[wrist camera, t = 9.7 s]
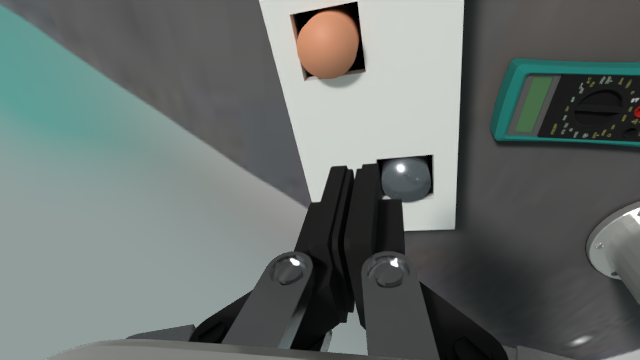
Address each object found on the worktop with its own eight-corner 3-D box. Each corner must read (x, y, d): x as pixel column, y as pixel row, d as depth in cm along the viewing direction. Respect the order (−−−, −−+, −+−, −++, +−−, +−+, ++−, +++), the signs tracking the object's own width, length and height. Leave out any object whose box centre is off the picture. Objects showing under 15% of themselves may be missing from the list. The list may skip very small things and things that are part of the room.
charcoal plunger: (424, 132, 33) (430, 161, 29) (425, 169, 36) (431, 201, 31) (379, 136, 34) (379, 165, 30) (383, 172, 37) (383, 203, 32)
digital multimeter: (649, 137, 32) (671, 153, 29) (485, 130, 34) (493, 144, 31) (698, 58, 28) (727, 69, 25) (507, 55, 30) (517, 65, 27)
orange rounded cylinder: (357, -2, 27) (352, 9, 22) (363, 54, 29) (360, 74, 25) (305, 9, 28) (290, 21, 23) (315, 62, 30) (304, 82, 26)
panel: (451, -91, 24) (468, -99, 19) (445, 193, 38) (454, 229, 34) (271, -46, 27) (247, -44, 23) (327, 200, 42) (320, 233, 37)
